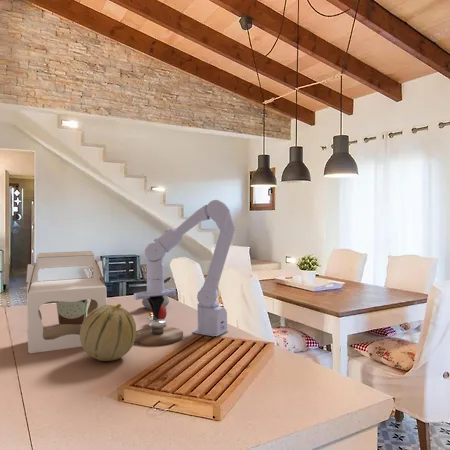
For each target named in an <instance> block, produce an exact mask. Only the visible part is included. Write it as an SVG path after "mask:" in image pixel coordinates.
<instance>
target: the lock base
mask: <svg viewBox="0 0 450 450" xmlns="http://www.w3.org/2000/svg"><path fill="white" fill-rule="evenodd" d="M183 339H184V331H183V330H181V329H180V328H177V327H172V326H166V327H164V328H150V327H147V328H146V327H145V328H140V329H136V338H135V343H134V344H136V343H138V344H137V345H140V344H144V345H143V346H147V345H159V346H166V345H173V344H175V343H177V342H180V341H182V340H183Z"/></svg>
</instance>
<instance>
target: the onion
mask: <svg viewBox="0 0 450 450" xmlns="http://www.w3.org/2000/svg"><path fill="white" fill-rule="evenodd" d="M150 312H153V311H152V309H151V310H150ZM166 317H167V309H166V307H164V306H163V305H161V308H160V311H159V314H158V319H165V320H166Z"/></svg>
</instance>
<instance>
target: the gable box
mask: <svg viewBox="0 0 450 450" xmlns="http://www.w3.org/2000/svg"><path fill="white" fill-rule="evenodd" d="M71 267H75V268H76V267H91V268H92V277H82V278H68V279H67V278H66V279H54V280H53V279H51V280H50V279H49V280H39V276H38V273H39V271H40V270H41V269H43V270H44V269H53V268H54V269H55V268H71ZM26 268H27V269H26V279H25V282H26V283H27V285H26V314H27V315H26V316H27V317H26V321H27V323H26V324H27V325H26V326H27V352H28V354H39V353H44V352H51V351H58V350H66V349H73V348H80V347H81V348H83V347H82V344H81V341H80V329H81V325H74V324H64V325H57V326H54V327H51V328H44V324H43V322H42V321H43V320H42V319H43V317H42V313H41V311H40V307H41V306H42V305H45V304H47V303H51V302H55V301H63V302H76V301H81V300H87V299H89V305H88V306H87V310H86V316H87V315H88V314H89V313H90V312H92V311H93V310H94V309H96V308H98V307H101V306H104V305H108V303H107V297H108V296H107V285H106V282H105V280H104V270H103V269H104V268H103V261H102V260H98V261H97V260H96V259H95V253H94V252H93V251H91V250H84V251H82V250H81V251H58V252H39V253H38V254H37V255H36V259H35V262H34V264H33V265H32V264H31V263H29V264H27V267H26Z"/></svg>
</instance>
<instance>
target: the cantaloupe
mask: <svg viewBox="0 0 450 450" xmlns="http://www.w3.org/2000/svg"><path fill="white" fill-rule="evenodd" d="M136 331H137V324H136V321H135V318H134V317H133V315H132V314H131V312H129V311H128V310H127V309H126V308H124V307H122V304H121V303H117V305H114V304H113V305H111V304H107V305H104V306H101V307H98V308H96V309H94V310H93V311H92V312H90V313H89V314H88V315H87V314H86V318H85V319H84V321H83V323H82V325H81V329H80V341H81V344H82V347H81V348H82V350H84V352H85V353H86V354H87V355H89V356H90V357H92V358H93V359H94V360H95V359H96V360H98V361H100V362H111V361H116V360H119V359H120V358H122V357H124V356H125V355H127V354H128V352H130V350H131V348H133V346H134V344H135V343H134V342H135V338H136Z"/></svg>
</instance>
